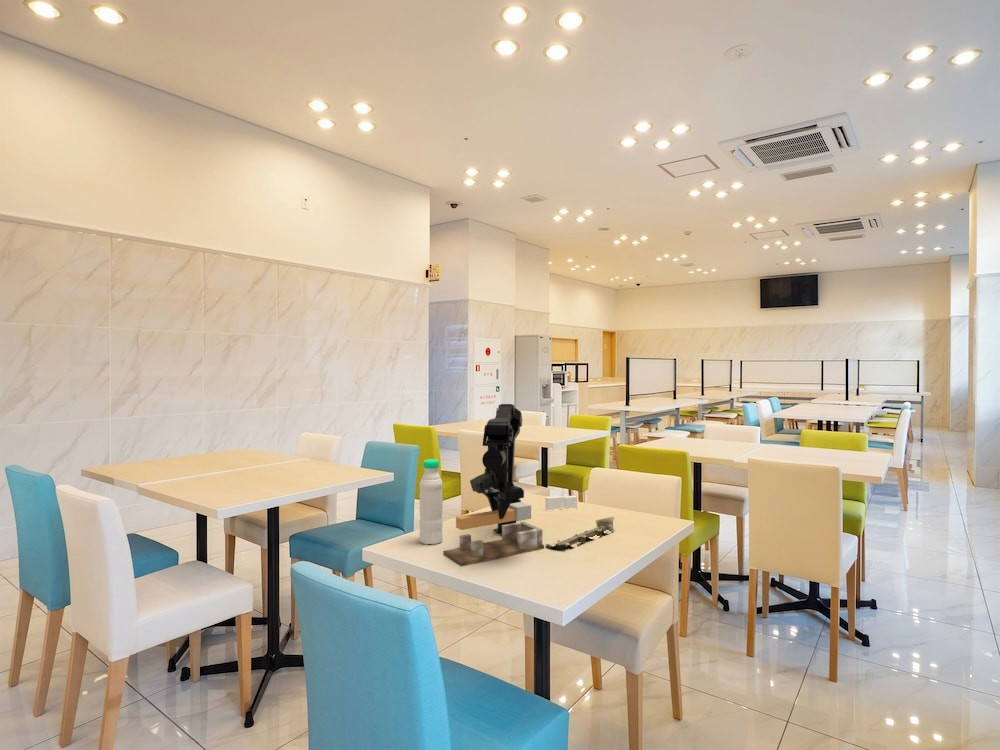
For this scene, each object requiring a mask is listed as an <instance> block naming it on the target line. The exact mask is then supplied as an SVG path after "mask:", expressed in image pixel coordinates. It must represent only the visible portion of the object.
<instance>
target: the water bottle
mask: <svg viewBox="0 0 1000 750" xmlns="http://www.w3.org/2000/svg"><path fill="white" fill-rule="evenodd" d="M422 462H423V463H422V466H423V470H424V473H423V475H422V477H421V480H420V481H419V517H420V519H419V542H420V543H421V544H423V545H428V544H432V545H437V544H439V543H442V541H443V540H444V538H443V537H444V535H443V526H444V525H443V505H444V503H443V500H444V499H443V480H442V478H441V476H440V473H439V472H438V470H439V465H440V463H439V460H438V459H425V460H423V461H422Z"/></svg>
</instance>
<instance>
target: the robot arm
mask: <svg viewBox="0 0 1000 750" xmlns="http://www.w3.org/2000/svg"><path fill="white" fill-rule="evenodd" d="M497 408H498V409H497V410H496V411H495V417H494V418H491V419H489V420H488V421H486V424H485V425H484V430H483V439H482V447H487V451H485V453H484V454H483V456H482V457H481V458H482V459H481V460H482V465H483V466H484V472H483V473H482V474H480V475H477V476H476V477H474V478H472V479H470V480H469V483H470V486H471V489H472V492H474V493H477V494H482V495H484V496H485V497H486V498H487V500H488V503H489V506H490V509H491V510H490V511H495V510H498V513H499V519H503V518H504V516H505V514H506V512H507V510H508V507H509V505H510V504H511V503H518V502H522V500H521V499H524V498H525V490H524V489H523V488H522V487H519V486H517V485H515V484H514V474H515V473H514V471H515V447H516V445H515V444H516V439H517V437H518V436H519V435H520V433H521V427H523V416H522V411H520V410H519V409H518V408H516V407H515V404H512V403H500V404H498V407H497ZM512 523H517V521H510V522H504V523H498V524H497V528H494V529H493V532H495V533H498V534H500V535H501V536H502V525H506V524H512Z"/></svg>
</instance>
